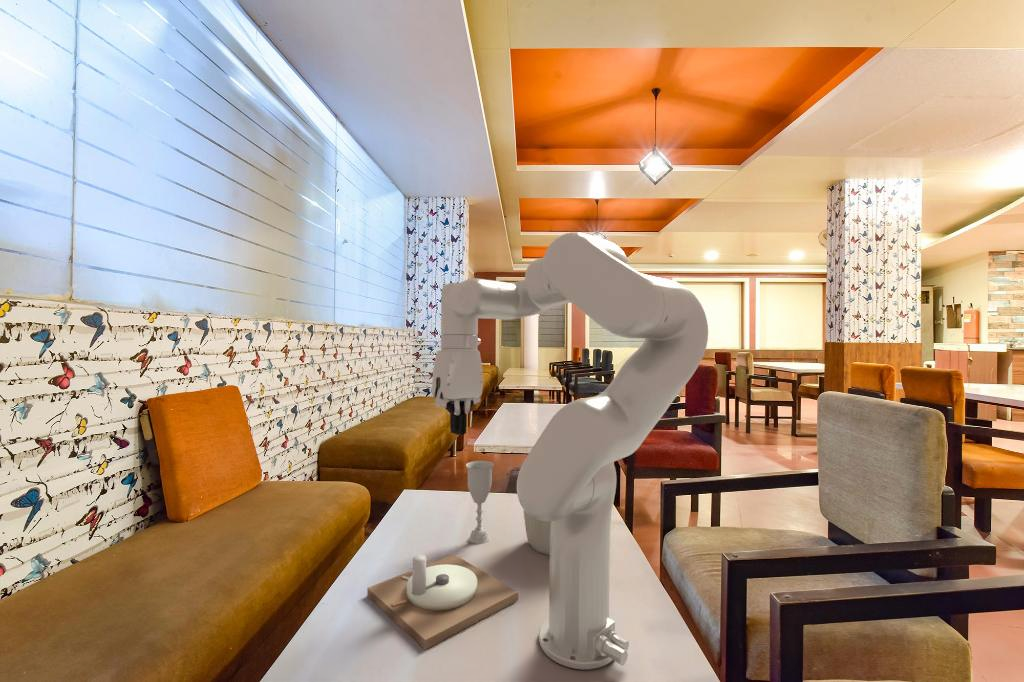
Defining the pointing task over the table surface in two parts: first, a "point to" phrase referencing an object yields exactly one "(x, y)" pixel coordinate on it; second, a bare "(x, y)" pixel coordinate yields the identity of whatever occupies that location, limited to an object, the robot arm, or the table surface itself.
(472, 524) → the table surface
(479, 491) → the chalice
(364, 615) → the table surface
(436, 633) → the dial base
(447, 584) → the dial
